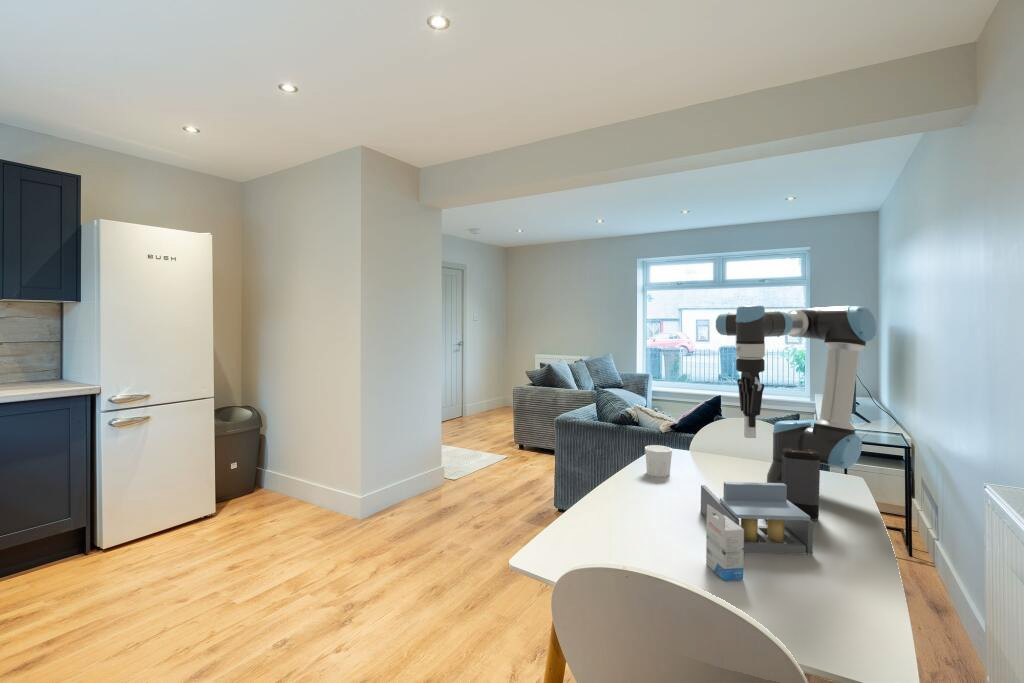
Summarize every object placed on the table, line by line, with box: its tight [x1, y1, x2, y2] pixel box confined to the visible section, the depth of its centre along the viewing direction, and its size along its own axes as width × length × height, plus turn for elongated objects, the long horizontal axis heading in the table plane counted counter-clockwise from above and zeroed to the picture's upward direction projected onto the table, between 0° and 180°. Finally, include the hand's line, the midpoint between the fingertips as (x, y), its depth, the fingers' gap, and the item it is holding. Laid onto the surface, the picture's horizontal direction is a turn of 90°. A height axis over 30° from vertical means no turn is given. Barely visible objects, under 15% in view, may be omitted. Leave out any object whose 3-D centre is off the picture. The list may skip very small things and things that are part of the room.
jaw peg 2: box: [766, 519, 785, 543], centre depth 128 cm, size 4×4×7 cm
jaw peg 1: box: [740, 518, 759, 542], centre depth 129 cm, size 4×4×7 cm
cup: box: [644, 444, 673, 478], centre depth 187 cm, size 10×10×10 cm
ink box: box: [705, 504, 745, 582], centre depth 113 cm, size 9×5×15 cm, turn 5°
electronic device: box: [782, 448, 821, 522], centre depth 146 cm, size 9×6×20 cm, turn 71°
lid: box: [719, 481, 810, 521], centre depth 128 cm, size 18×12×6 cm, turn 86°
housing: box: [700, 484, 814, 555], centre depth 136 cm, size 19×27×8 cm
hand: (750, 437), depth 143 cm, fingers closed
